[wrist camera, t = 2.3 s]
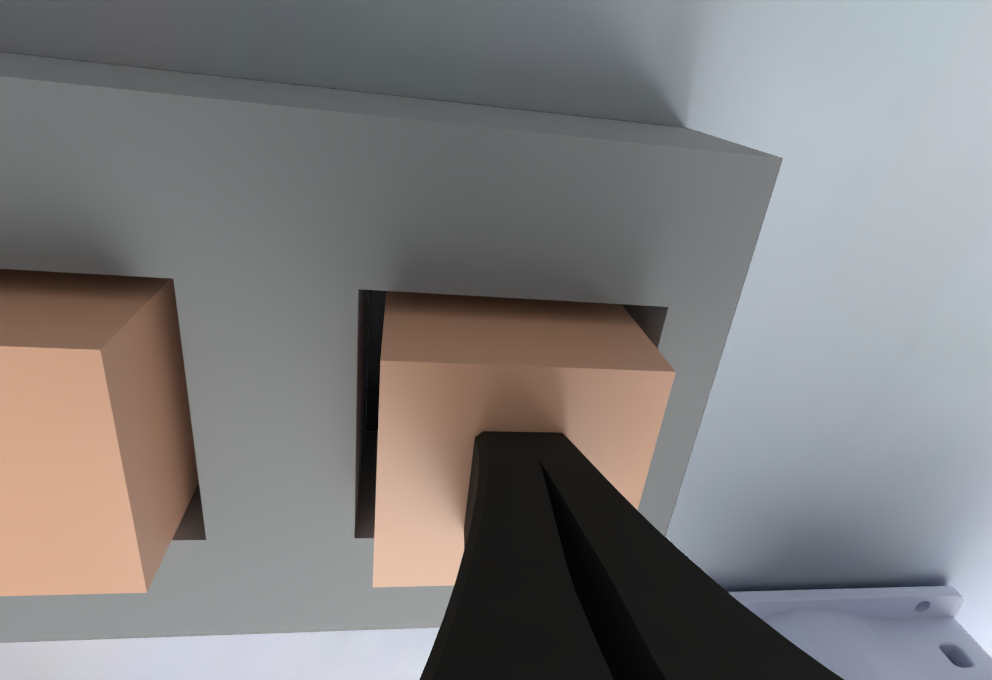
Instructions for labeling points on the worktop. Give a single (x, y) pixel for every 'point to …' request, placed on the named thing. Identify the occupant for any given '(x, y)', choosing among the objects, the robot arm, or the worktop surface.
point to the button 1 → (90, 432)
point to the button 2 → (499, 409)
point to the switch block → (345, 295)
